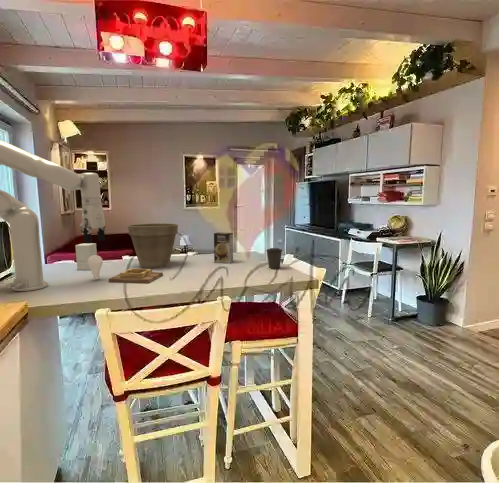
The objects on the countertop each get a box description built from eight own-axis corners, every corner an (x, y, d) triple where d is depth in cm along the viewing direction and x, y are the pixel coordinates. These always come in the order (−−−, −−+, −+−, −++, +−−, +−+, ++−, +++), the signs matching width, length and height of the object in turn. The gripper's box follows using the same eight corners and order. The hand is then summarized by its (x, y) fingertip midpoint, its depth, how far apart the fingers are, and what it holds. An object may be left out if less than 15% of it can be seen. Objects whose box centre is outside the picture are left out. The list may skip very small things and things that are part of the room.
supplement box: (98, 267, 186) (96, 243, 185) (90, 270, 179) (89, 245, 177) (84, 267, 187) (83, 243, 185) (76, 270, 180) (74, 245, 178)
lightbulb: (99, 277, 162) (97, 253, 161) (106, 279, 159) (105, 254, 157) (86, 280, 158) (84, 255, 156) (93, 282, 154) (91, 256, 152)
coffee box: (213, 262, 195) (213, 233, 192) (218, 260, 201) (217, 232, 199) (229, 263, 192) (229, 233, 190) (233, 261, 198) (233, 232, 196)
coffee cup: (285, 269, 176) (285, 248, 175) (270, 270, 173) (270, 250, 172) (278, 266, 184) (278, 246, 183) (263, 267, 181) (263, 247, 180)
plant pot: (162, 259, 207) (161, 221, 204) (188, 264, 190) (187, 223, 187) (121, 265, 189) (119, 224, 186) (145, 272, 172) (143, 227, 169)
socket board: (148, 283, 150) (147, 275, 150) (108, 282, 153) (108, 274, 153) (162, 275, 165) (162, 268, 165) (126, 274, 168) (126, 267, 168)
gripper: (87, 202, 145) (90, 244, 147) (110, 201, 162) (113, 239, 164) (70, 203, 146) (74, 244, 148) (95, 201, 163) (98, 239, 165)
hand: (95, 241), depth 156 cm, fingers open, 9 cm apart
